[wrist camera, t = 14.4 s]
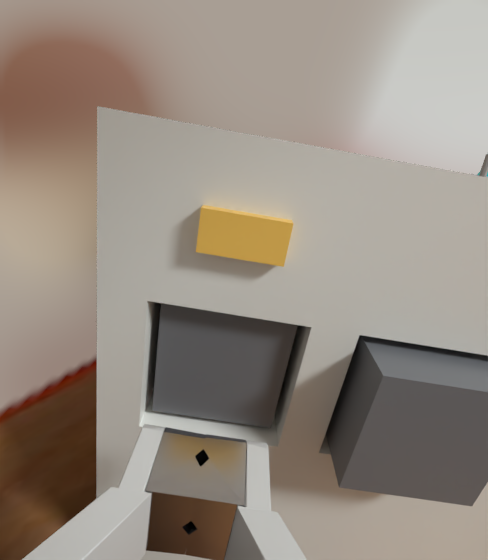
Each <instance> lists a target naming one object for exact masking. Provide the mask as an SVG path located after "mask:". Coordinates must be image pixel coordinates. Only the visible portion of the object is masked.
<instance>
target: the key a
mask: <svg viewBox="0 0 488 560" xmlns="http://www.w3.org/2000/svg"><path fill="white" fill-rule="evenodd" d="M297 326H298V325H294V324H288V323H282V322H276V321H269V320H263V319H257V318H251V317H245V316H238V315H232V314H226V313H220V312H213V311H207V310H201V309H195V308H189V307H182V306H176V305H170V304H164V303H161V311H160V323H159V335H158V347H157V359H156V371H155V383H154V395H153V407H152V411H159V412H166V413H173V414H179V415H186V416H193V417H200V418H206V419H213V420H220V421H227V422H233V423H240V424H247V425H254V426H260V427H267V428H271V426H272V422H273V418H274V414H275V410H276V406H277V403H278V399H279V395H280V391H281V387H282V383H283V380H284V376H285V372H286V368H287V364H288V360H289V357H290V353H291V349H292V345H293V341H294V338H295V334H296V330H297Z"/></svg>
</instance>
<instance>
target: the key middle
mask: <svg viewBox="0 0 488 560" xmlns="http://www.w3.org/2000/svg"><path fill="white" fill-rule="evenodd" d="M326 437H327V441H328V445H329V449H330V453H331V457H332V461H333V465H334V469H335V473H336V477H337V481H338V486H339V488H346V489H353V490H360V491H367V492H374V493H381V494H388V495H395V496H402V497H409V498H416V499H423V500H430V501H437V502H444V503H451V504H458V505H465V506H473V504H474V503H475V501H476V500H477V498H478V496H479V495H480V493H481V492H482V490H483V489H484V487H485V485H486V484H487V482H488V356H487V355H481V354H475V353H469V352H462V351H456V350H450V349H444V348H437V347H431V346H425V345H419V344H413V343H406V342H400V341H394V340H388V339H381V338H375V337H369V336H363V335H359V338H358V341H357V344H356V347H355V350H354V353H353V356H352V359H351V361H350V364H349V367H348V370H347V373H346V376H345V379H344V382H343V385H342V388H341V390H340V393H339V396H338V399H337V402H336V405H335V408H334V411H333V414H332V417H331V419H330V422H329V425H328V428H327V431H326Z"/></svg>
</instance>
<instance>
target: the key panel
mask: <svg viewBox="0 0 488 560" xmlns="http://www.w3.org/2000/svg"><path fill="white" fill-rule="evenodd" d="M161 303H164V304H170V305H176V306H182V307H189V308H195V309H201V310H207V311H213V312H220V313H226V314H232V315H238V316H245V317H251V318H257V319H263V320H269V321H276V322H282V323H288V324H294V325H298V326H297V330H296V334H295V338H294V341H293V345H292V349H291V353H290V357H289V360H288V364H287V368H286V372H285V376H284V380H283V383H282V387H281V391H280V395H279V399H278V403H277V406H276V410H275V414H274V418H273V422H272V426H271V428H267V427H260V426H254V425H247V424H240V423H233V422H227V421H220V420H213V419H206V418H200V417H193V416H186V415H179V414H173V413H166V412H159V411H152V407H153V395H154V383H155V371H156V359H157V347H158V335H159V323H160V311H161ZM359 335H363V336H369V337H375V338H381V339H388V340H394V341H400V342H406V343H413V344H419V345H425V346H431V347H437V348H444V349H450V350H456V351H462V352H469V353H475V354H481V355H487V356H488V177H482V176H477V175H471V174H465V173H460V172H455V171H449V170H443V169H438V168H432V167H427V166H422V165H416V164H410V163H405V162H400V161H394V160H389V159H383V158H378V157H372V156H367V155H361V154H356V153H350V152H345V151H339V150H334V149H328V148H322V147H318V146H311V145H307V144H301V143H295V142H290V141H285V140H279V139H274V138H268V137H263V136H257V135H252V134H246V133H241V132H235V131H230V130H224V129H219V128H213V127H208V126H202V125H197V124H191V123H186V122H180V121H175V120H169V119H164V118H158V117H153V116H148V115H142V114H136V113H131V112H126V111H120V110H115V109H109V108H104V107H97V436H96V498H98V497H99V496H100V495H101V494H103V493H104V492H105V491H106V490H107V489H109V488H110V487H116V488H118V485H119V483H120V480H121V478H122V475H123V473H124V470H125V468H126V465H127V463H128V460H129V458H130V455H131V453H132V451H133V448H134V446H135V443H136V441H137V438H138V436H139V433H140V431H141V429H142V427H143V426H144V424H149V425H155V426H160V427H167V428H173V429H178V430H184V431H189V432H194V433H200V434H205V435H206V434H209V435H216V436H223V437H229V438H236V439H243V440H246V441H247V440H249V441H255V442H262V443H267V445H268V450H269V473H270V496H271V511H274V512H278V513H279V515H280V516H281V518H282V520H283V521H284V523H285V525H286V526H287V528H288V529H289V531H290V533H291V534H292V536H293V538H294V539H295V541H296V542H297V544H298V546H299V547H300V549H301V551H302V552H303V554H304V555H305V557H306V559H307V560H488V482H487V484H486V485H485V487H484V489H483V490H482V492H481V493H480V495H479V496H478V498H477V500H476V501H475V503H474V504H473V506H465V505H458V504H451V503H444V502H437V501H430V500H423V499H416V498H409V497H402V496H395V495H388V494H381V493H374V492H367V491H360V490H353V489H346V488H339V486H338V481H337V477H336V473H335V469H334V465H333V461H332V457H331V453H330V449H329V445H328V441H327V437H326V431H327V428H328V425H329V422H330V419H331V417H332V414H333V411H334V408H335V405H336V402H337V399H338V396H339V393H340V390H341V388H342V385H343V382H344V379H345V376H346V373H347V370H348V367H349V364H350V361H351V359H352V356H353V353H354V350H355V347H356V344H357V341H358V338H359ZM185 554H186V553H185ZM141 560H211V559H205V558H200V557H194V556H189V555H182V554H173V553H164V552H155V551H146V552H145V555H144V556H143V557H142V558H141Z"/></svg>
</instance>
